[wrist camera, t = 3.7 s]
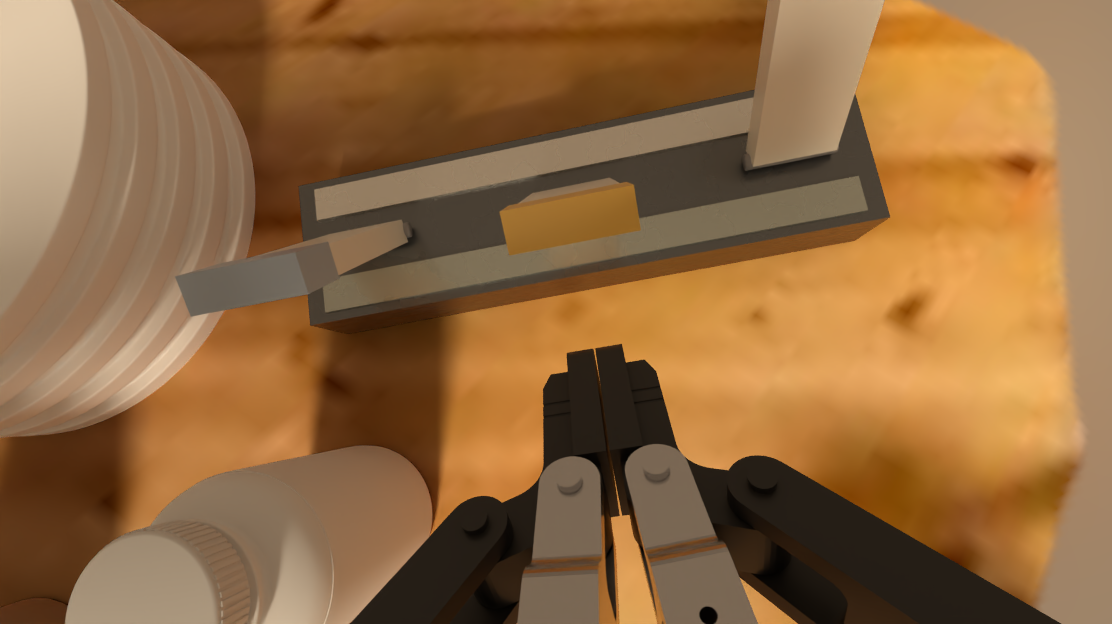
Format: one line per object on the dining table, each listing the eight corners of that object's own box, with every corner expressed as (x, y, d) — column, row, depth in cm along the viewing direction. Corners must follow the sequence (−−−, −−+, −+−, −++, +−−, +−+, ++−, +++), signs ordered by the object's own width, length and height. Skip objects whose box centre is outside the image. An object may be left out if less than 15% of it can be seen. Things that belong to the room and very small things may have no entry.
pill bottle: (281, 487, 32) (-11, 566, 17) (397, 418, 32) (204, 437, 17) (338, 615, 30) (71, 824, 15) (460, 543, 30) (308, 686, 15)
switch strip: (854, 240, 30) (892, 215, 26) (347, 334, 33) (308, 324, 29) (819, 110, 31) (850, 67, 27) (335, 210, 34) (296, 184, 30)
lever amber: (616, 201, 28) (644, 229, 17) (534, 217, 28) (506, 256, 17) (612, 174, 28) (637, 184, 16) (528, 191, 28) (496, 212, 17)
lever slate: (415, 241, 29) (311, 293, 18) (338, 256, 29) (188, 317, 18) (408, 215, 29) (298, 251, 17) (330, 231, 29) (172, 276, 18)
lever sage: (838, 160, 26) (935, -135, 17) (748, 178, 27) (792, -101, 17) (827, 142, 27) (914, -150, 18) (739, 159, 28) (777, -117, 18)
